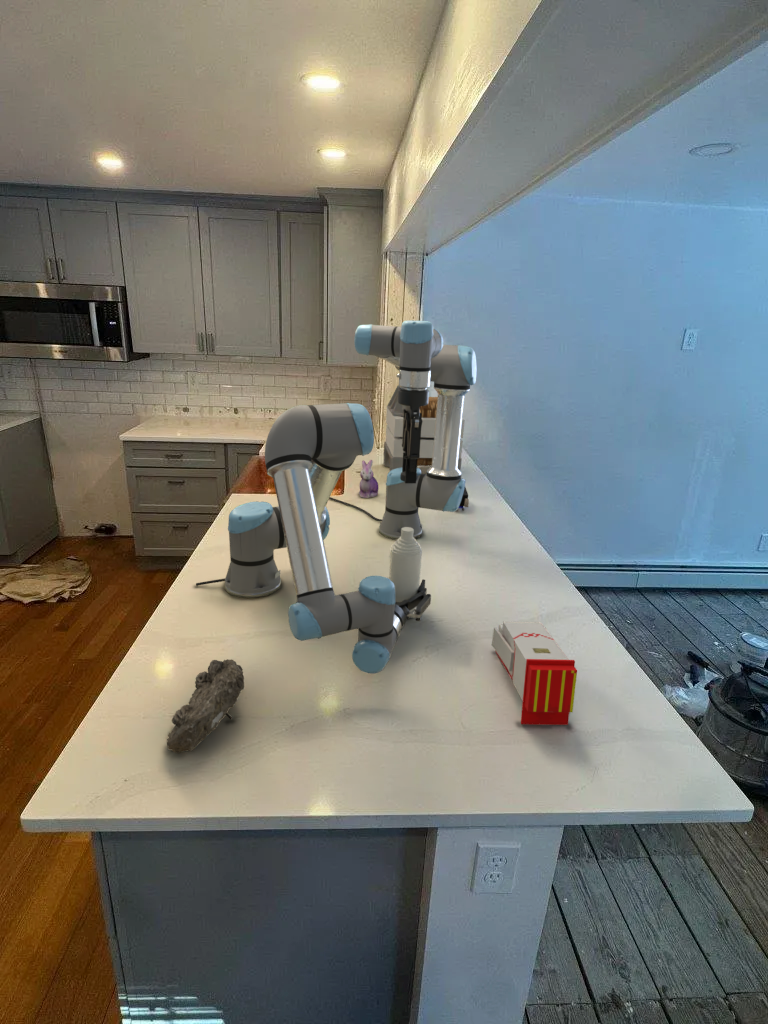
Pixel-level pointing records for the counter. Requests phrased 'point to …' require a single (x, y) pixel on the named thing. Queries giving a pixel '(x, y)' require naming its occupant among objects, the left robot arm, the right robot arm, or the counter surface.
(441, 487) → the right robot arm
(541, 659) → the toy
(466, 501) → the figurine character
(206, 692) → the fossil
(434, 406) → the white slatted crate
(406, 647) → the counter surface
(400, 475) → the cap
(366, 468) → the figurine
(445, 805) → the counter surface
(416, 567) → the bottle
